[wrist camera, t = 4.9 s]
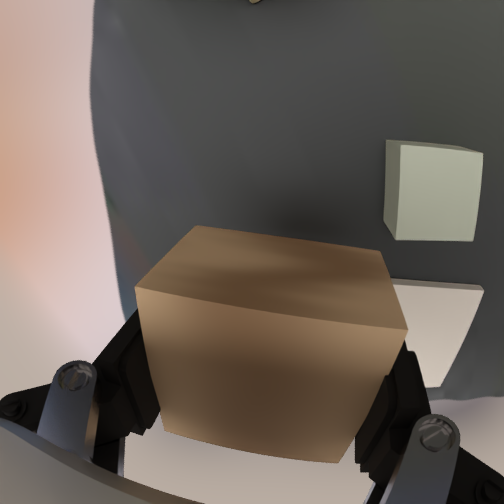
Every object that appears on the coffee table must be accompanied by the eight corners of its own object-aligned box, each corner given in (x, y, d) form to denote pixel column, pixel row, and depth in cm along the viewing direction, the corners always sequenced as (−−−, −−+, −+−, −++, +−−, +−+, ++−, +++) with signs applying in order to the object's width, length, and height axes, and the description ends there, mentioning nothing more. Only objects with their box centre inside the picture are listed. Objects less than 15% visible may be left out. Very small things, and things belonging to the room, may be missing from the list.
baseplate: (479, 285, 22) (484, 290, 21) (437, 380, 27) (439, 386, 27) (333, 273, 24) (333, 279, 24) (313, 377, 29) (313, 384, 29)
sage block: (457, 145, 19) (483, 153, 15) (451, 221, 21) (472, 241, 17) (385, 139, 20) (400, 144, 16) (382, 219, 22) (395, 239, 19)
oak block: (379, 251, 9) (408, 329, 6) (339, 381, 12) (338, 463, 8) (195, 225, 10) (135, 286, 7) (199, 358, 13) (164, 430, 9)
